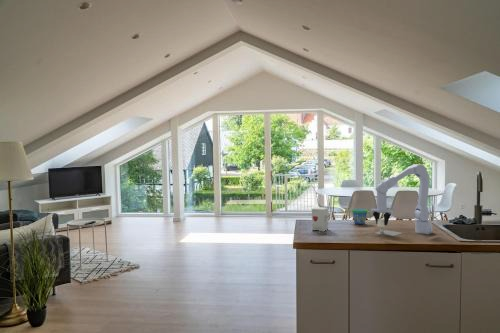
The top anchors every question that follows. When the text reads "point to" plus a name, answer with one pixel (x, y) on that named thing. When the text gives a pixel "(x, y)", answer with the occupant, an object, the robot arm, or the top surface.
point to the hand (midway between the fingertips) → (381, 224)
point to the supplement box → (319, 218)
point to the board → (388, 232)
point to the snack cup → (359, 215)
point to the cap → (381, 223)
